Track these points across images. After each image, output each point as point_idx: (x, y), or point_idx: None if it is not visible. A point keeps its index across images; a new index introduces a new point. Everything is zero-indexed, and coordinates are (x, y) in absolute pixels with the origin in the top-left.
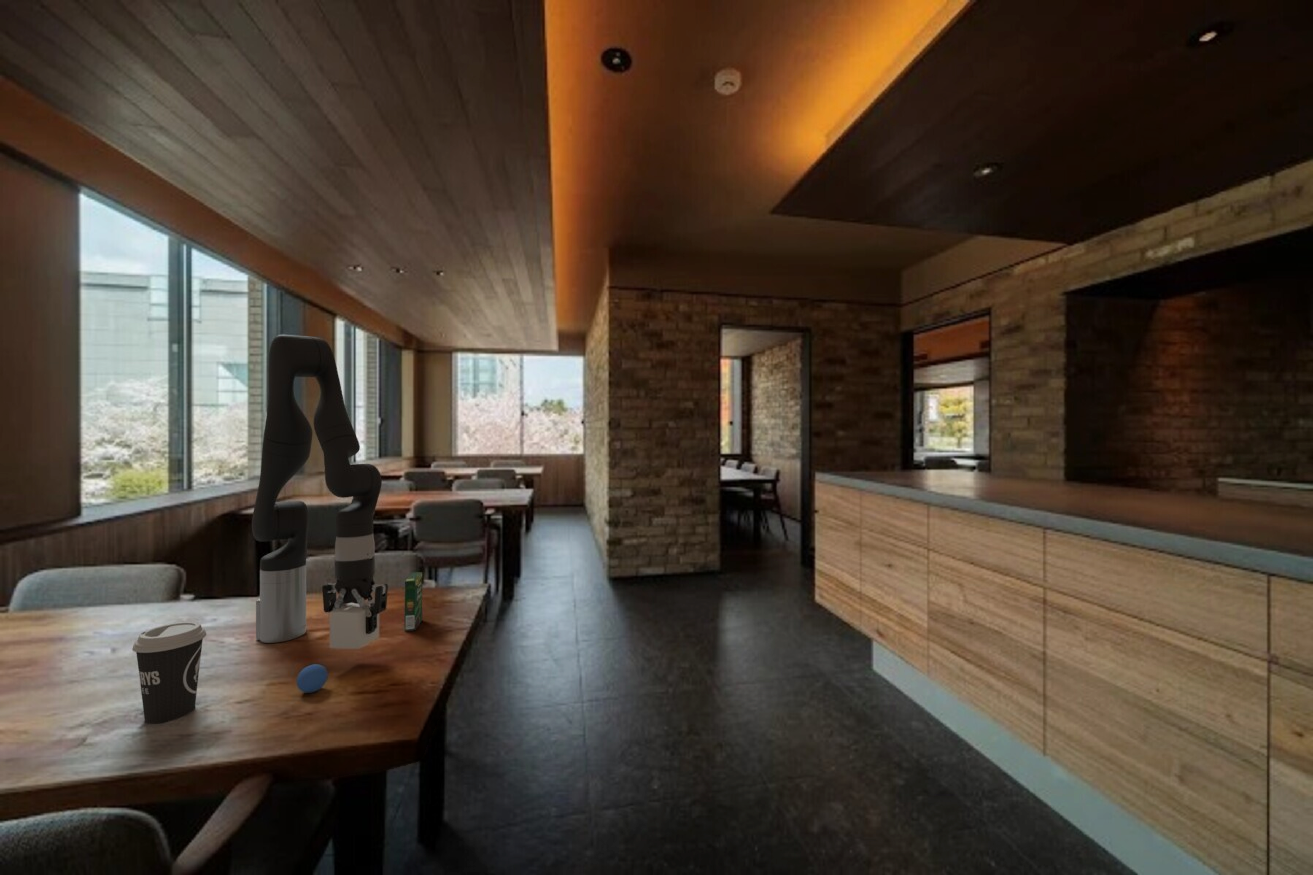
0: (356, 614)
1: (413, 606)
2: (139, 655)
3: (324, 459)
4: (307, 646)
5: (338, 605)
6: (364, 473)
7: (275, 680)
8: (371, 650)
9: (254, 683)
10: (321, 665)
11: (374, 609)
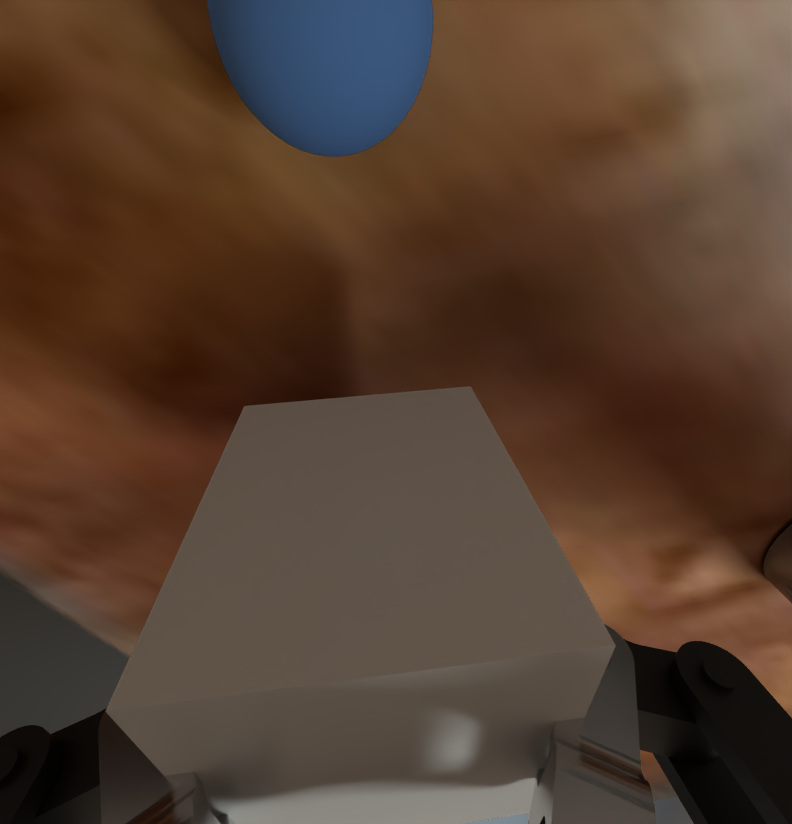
0: (154, 677)
1: None
2: None
3: None
4: (697, 496)
5: (571, 784)
6: None
7: (663, 163)
8: None
9: (771, 98)
10: (284, 82)
11: (12, 805)
